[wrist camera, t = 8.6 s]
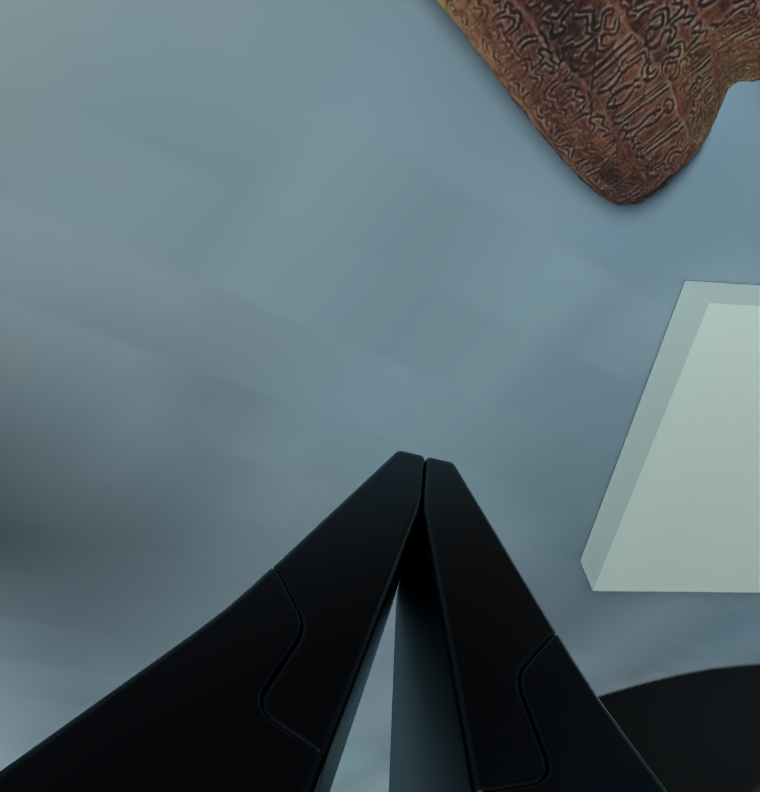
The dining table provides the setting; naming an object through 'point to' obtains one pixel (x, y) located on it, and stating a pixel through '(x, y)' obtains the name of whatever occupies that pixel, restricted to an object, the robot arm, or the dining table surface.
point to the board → (690, 458)
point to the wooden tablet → (617, 77)
